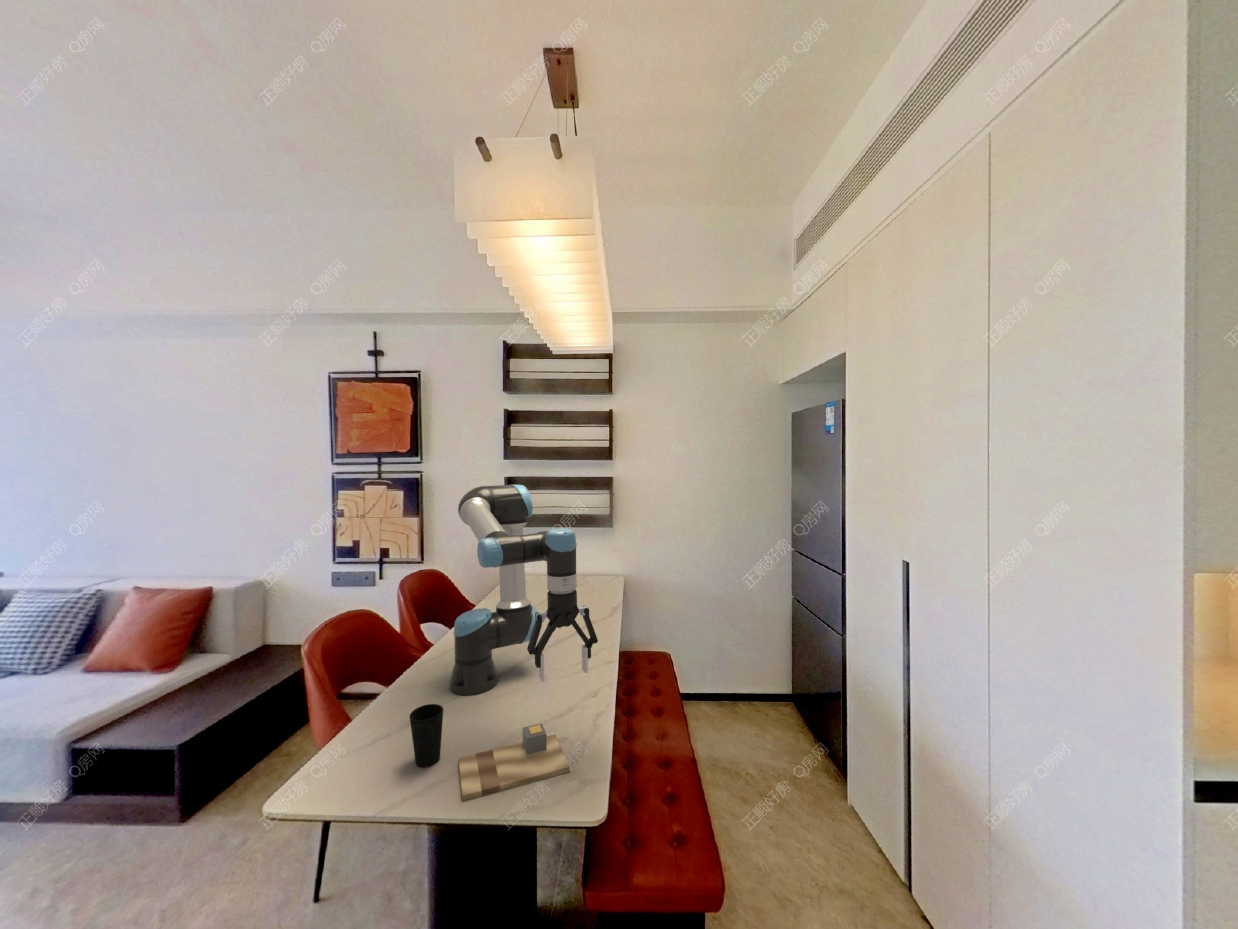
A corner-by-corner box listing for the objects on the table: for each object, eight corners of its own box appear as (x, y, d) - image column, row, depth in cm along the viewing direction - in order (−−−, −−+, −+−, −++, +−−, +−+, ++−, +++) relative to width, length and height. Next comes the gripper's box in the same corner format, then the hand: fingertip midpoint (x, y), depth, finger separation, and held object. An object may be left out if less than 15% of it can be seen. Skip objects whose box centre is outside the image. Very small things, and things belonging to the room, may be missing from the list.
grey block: (522, 743, 120) (522, 726, 120) (542, 738, 122) (541, 722, 122) (526, 754, 116) (526, 737, 116) (546, 749, 118) (546, 732, 117)
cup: (448, 750, 120) (447, 703, 120) (438, 770, 112) (437, 720, 112) (418, 751, 120) (416, 704, 120) (405, 771, 112) (404, 721, 112)
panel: (458, 762, 115) (458, 757, 115) (555, 739, 124) (554, 734, 124) (462, 801, 102) (462, 795, 102) (569, 771, 111) (569, 766, 111)
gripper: (519, 599, 113) (521, 690, 114) (609, 588, 122) (611, 672, 122) (513, 591, 120) (515, 677, 121) (599, 581, 129) (601, 661, 129)
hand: (563, 675), depth 121 cm, fingers open, 11 cm apart
